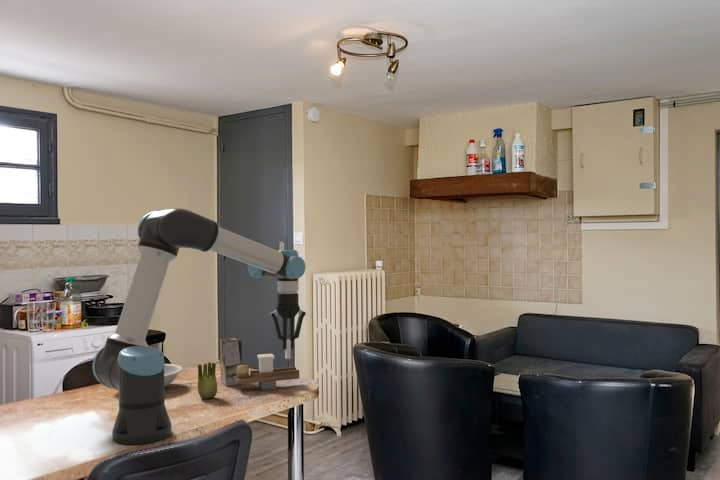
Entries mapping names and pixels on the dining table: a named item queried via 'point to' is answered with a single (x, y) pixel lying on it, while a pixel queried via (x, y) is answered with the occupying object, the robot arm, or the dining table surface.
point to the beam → (265, 376)
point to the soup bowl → (171, 373)
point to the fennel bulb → (207, 381)
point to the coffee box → (230, 359)
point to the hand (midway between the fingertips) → (287, 358)
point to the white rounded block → (265, 362)
